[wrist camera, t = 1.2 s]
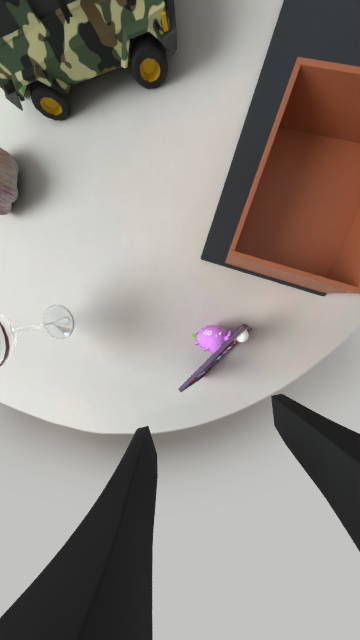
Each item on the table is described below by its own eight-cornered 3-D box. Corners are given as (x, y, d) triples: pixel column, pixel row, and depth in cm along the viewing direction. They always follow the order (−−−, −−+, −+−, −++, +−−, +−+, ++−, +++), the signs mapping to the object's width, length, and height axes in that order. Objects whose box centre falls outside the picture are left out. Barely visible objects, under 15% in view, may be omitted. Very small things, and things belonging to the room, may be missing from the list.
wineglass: (73, 296, 26) (-41, 301, 14) (83, 343, 27) (-18, 384, 15) (33, 301, 27) (-102, 310, 16) (43, 346, 28) (-77, 386, 17)
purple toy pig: (184, 399, 18) (253, 332, 16) (152, 358, 20) (210, 293, 18) (205, 383, 24) (257, 333, 22) (179, 353, 26) (225, 304, 24)
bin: (272, 127, 19) (298, 56, 13) (386, 151, 18) (470, 83, 12) (224, 263, 22) (228, 254, 16) (319, 292, 21) (361, 293, 15)
